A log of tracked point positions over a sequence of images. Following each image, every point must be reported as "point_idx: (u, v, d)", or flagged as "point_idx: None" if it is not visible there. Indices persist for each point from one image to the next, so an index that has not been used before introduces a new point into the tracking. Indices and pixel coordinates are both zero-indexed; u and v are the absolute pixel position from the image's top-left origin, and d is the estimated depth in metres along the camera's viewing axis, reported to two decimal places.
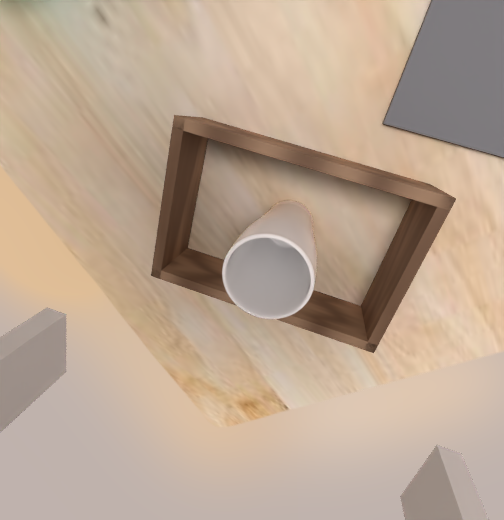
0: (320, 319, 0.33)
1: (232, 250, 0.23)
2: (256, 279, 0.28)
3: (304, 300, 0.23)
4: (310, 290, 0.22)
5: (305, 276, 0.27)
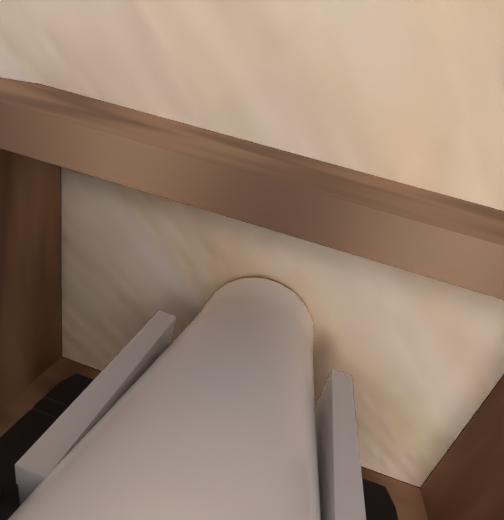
0: None
1: None
2: None
3: None
4: None
5: None
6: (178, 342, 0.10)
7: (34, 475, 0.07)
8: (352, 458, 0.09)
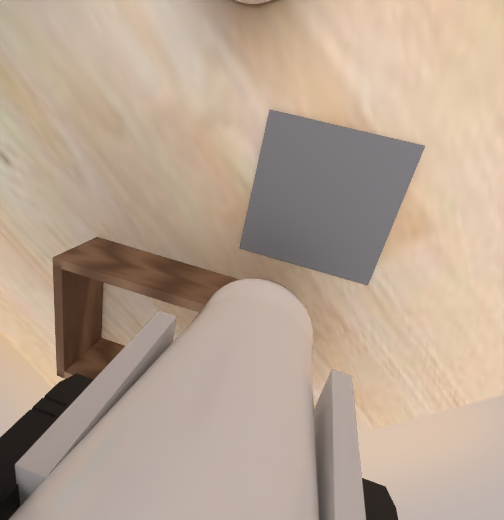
0: None
1: None
2: None
3: None
4: None
5: None
6: (177, 343, 0.10)
7: (34, 475, 0.07)
8: (352, 458, 0.09)
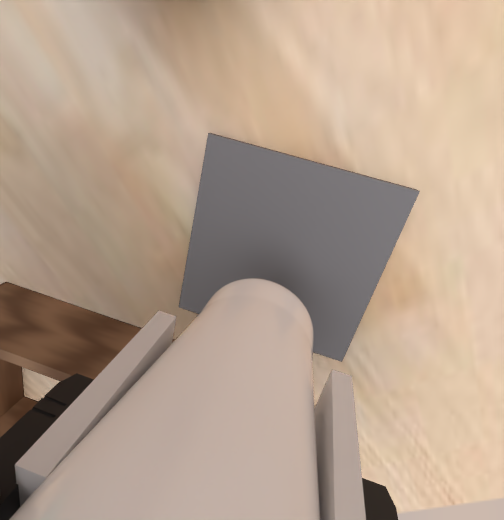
0: None
1: None
2: None
3: None
4: None
5: None
6: (178, 343, 0.10)
7: (34, 475, 0.07)
8: (352, 458, 0.09)
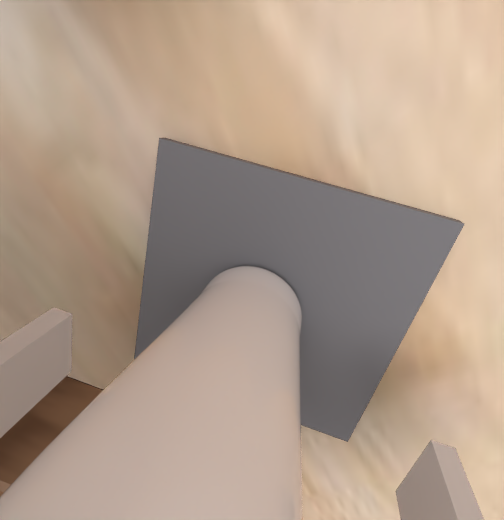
0: None
1: None
2: None
3: None
4: None
5: None
6: (177, 320, 0.12)
7: None
8: None
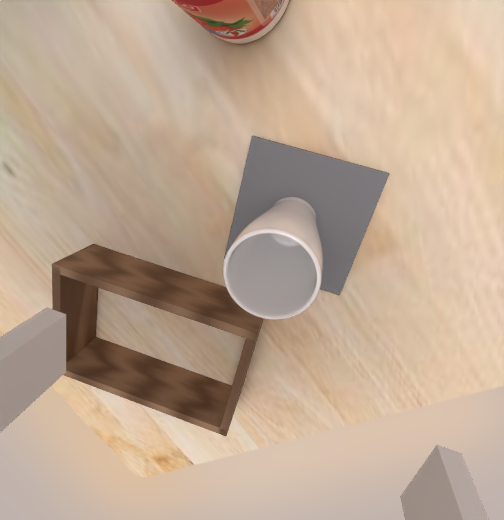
0: (187, 407, 0.41)
1: (232, 248, 0.21)
2: (259, 279, 0.27)
3: (311, 298, 0.22)
4: (317, 287, 0.21)
5: (311, 274, 0.26)
6: None
7: None
8: None
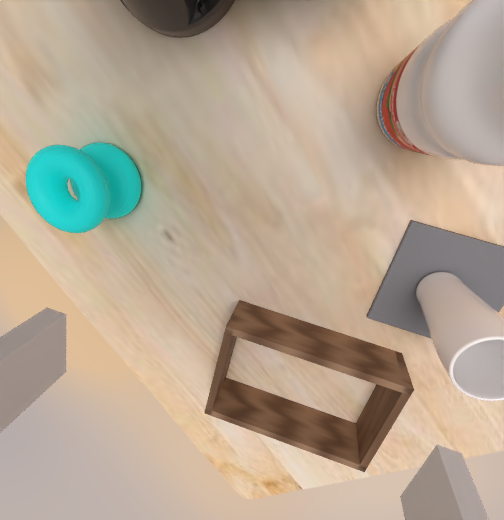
0: (326, 445, 0.47)
1: (465, 348, 0.27)
2: None
3: None
4: None
5: (497, 355, 0.31)
6: (442, 291, 0.35)
7: None
8: None
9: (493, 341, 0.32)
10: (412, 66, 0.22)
